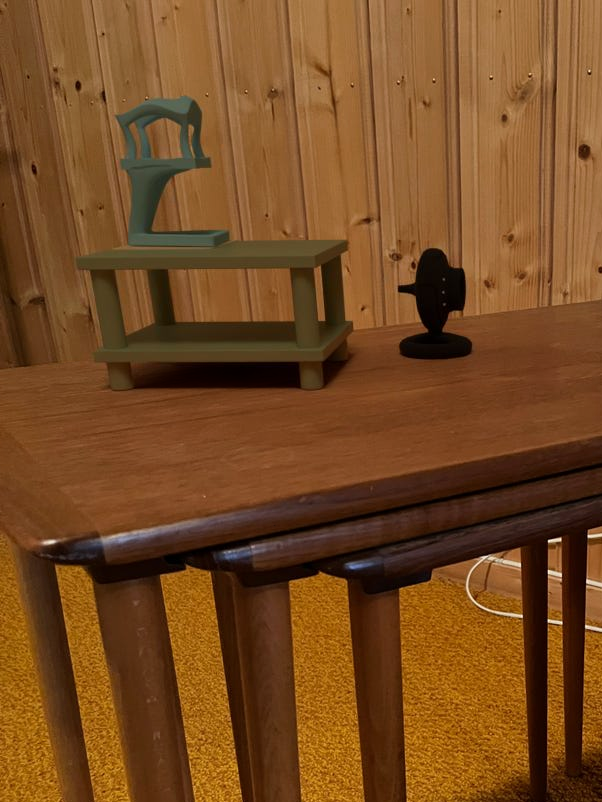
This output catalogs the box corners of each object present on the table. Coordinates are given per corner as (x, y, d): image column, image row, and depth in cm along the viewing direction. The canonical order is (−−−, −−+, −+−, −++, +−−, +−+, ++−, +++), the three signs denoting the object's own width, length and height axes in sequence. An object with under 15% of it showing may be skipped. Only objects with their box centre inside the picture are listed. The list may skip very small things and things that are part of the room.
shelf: (99, 391, 85) (74, 256, 80) (161, 357, 99) (143, 240, 95) (326, 391, 84) (314, 253, 79) (355, 356, 99) (347, 238, 94)
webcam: (464, 360, 96) (462, 251, 91) (391, 358, 97) (385, 251, 93) (478, 346, 103) (477, 244, 98) (409, 345, 104) (405, 244, 100)
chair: (143, 241, 93) (121, 98, 88) (231, 240, 93) (214, 96, 88) (120, 248, 86) (94, 93, 81) (215, 247, 86) (195, 92, 81)
